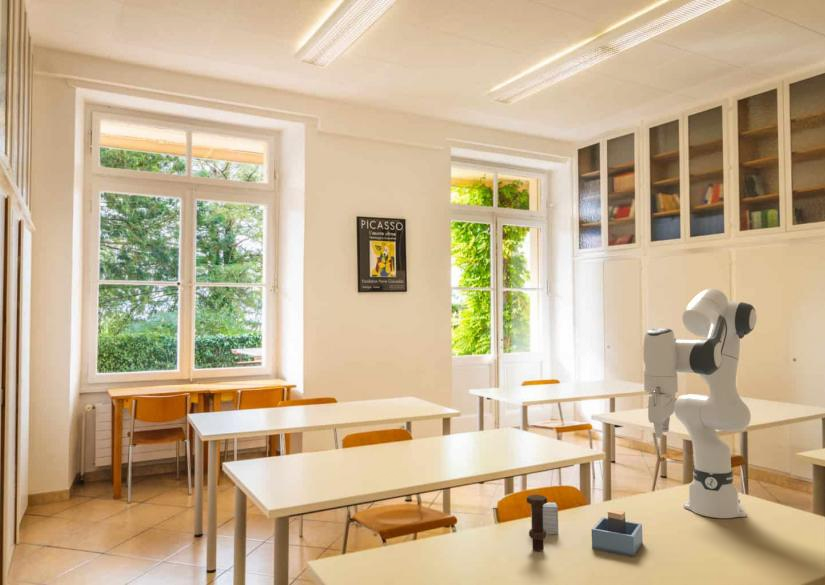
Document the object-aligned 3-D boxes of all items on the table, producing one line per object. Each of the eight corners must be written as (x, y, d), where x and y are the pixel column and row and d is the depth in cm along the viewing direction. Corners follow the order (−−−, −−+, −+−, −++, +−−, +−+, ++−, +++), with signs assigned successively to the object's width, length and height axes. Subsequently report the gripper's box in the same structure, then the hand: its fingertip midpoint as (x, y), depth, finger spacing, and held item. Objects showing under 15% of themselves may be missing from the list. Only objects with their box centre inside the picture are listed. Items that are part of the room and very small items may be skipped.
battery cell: (612, 540, 175) (611, 509, 175) (626, 543, 172) (625, 511, 172) (608, 543, 172) (607, 511, 173) (622, 546, 170) (621, 514, 170)
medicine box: (556, 530, 186) (556, 502, 186) (558, 535, 181) (558, 506, 182) (531, 529, 186) (530, 501, 187) (532, 534, 182) (532, 506, 182)
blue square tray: (602, 535, 180) (602, 517, 180) (642, 543, 174) (642, 523, 174) (592, 548, 170) (591, 529, 170) (634, 557, 164) (633, 536, 164)
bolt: (541, 555, 167) (540, 501, 167) (525, 550, 170) (524, 498, 170) (550, 548, 171) (549, 496, 172) (534, 544, 174) (533, 493, 175)
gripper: (666, 390, 158) (667, 442, 158) (678, 382, 176) (679, 429, 175) (641, 388, 162) (643, 439, 161) (655, 381, 179) (657, 427, 178)
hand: (662, 434), depth 168 cm, fingers open, 8 cm apart
